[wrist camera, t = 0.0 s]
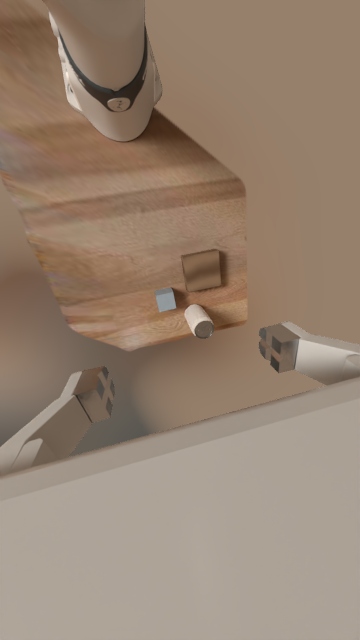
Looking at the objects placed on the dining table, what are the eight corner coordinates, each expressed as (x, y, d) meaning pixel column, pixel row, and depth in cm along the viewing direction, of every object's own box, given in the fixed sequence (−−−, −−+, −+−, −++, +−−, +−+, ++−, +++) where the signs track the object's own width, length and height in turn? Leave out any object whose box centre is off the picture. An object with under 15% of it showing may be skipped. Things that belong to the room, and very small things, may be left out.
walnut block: (180, 255, 55) (183, 257, 51) (213, 248, 55) (218, 250, 52) (185, 288, 59) (188, 292, 56) (216, 282, 60) (221, 285, 56)
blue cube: (154, 290, 57) (155, 295, 53) (170, 287, 58) (173, 292, 53) (158, 305, 60) (159, 311, 55) (173, 302, 60) (176, 308, 56)
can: (181, 308, 61) (189, 325, 51) (199, 300, 61) (211, 315, 51) (188, 324, 64) (197, 343, 54) (205, 316, 64) (218, 334, 54)
